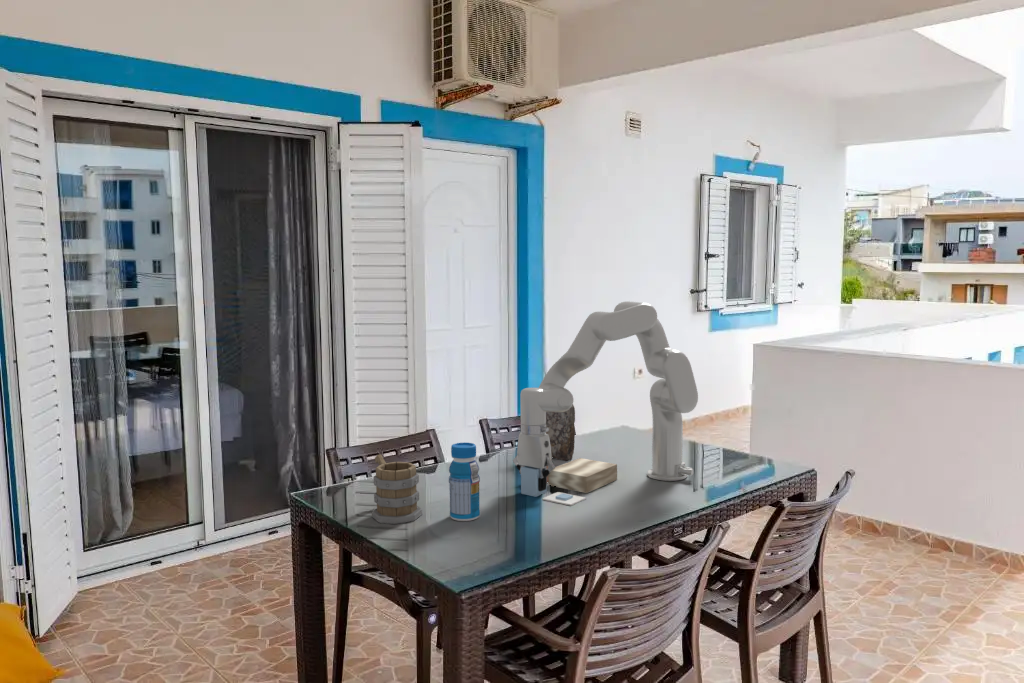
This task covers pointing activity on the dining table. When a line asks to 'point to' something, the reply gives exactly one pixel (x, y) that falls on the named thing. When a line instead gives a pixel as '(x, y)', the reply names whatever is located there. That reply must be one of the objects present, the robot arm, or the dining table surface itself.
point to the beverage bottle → (464, 483)
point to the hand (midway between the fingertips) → (533, 487)
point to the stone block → (561, 433)
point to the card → (564, 498)
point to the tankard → (396, 492)
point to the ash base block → (583, 475)
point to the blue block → (530, 481)
